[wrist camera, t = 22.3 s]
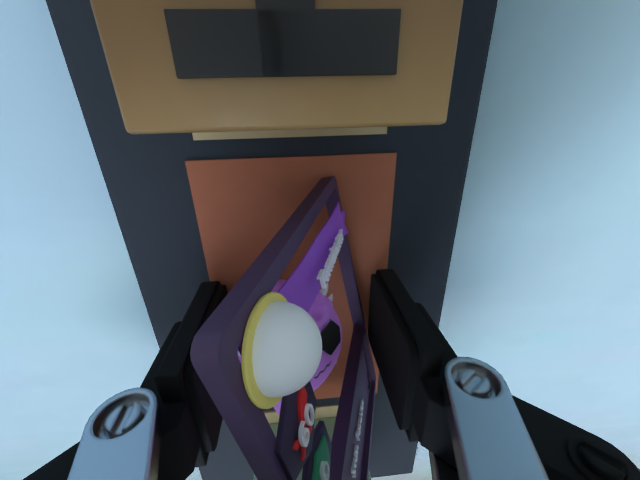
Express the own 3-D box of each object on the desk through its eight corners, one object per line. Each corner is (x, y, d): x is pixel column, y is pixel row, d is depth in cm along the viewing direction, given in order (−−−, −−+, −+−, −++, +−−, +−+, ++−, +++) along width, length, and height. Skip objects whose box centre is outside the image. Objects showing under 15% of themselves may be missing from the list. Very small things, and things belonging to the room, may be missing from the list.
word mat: (0, -183, 6) (-30, -213, 5) (514, -160, 7) (534, -184, 6) (210, 486, 16) (207, 500, 15) (409, 463, 17) (413, 475, 16)
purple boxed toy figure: (387, 640, 7) (275, 352, 3) (198, 578, 8) (-34, 341, 4) (394, 380, 12) (359, 169, 9) (281, 373, 14) (210, 194, 10)
